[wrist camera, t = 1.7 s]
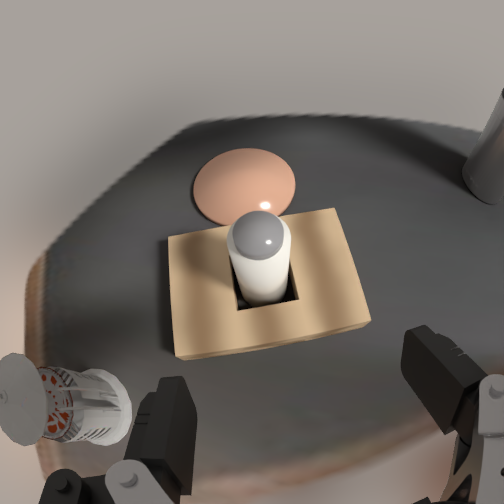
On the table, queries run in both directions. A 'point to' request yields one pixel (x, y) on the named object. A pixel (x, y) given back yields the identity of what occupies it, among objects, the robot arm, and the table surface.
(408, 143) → the table surface
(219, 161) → the terracotta plate
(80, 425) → the french press
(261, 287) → the pepper mill
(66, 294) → the table surface
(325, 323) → the mill caddy
